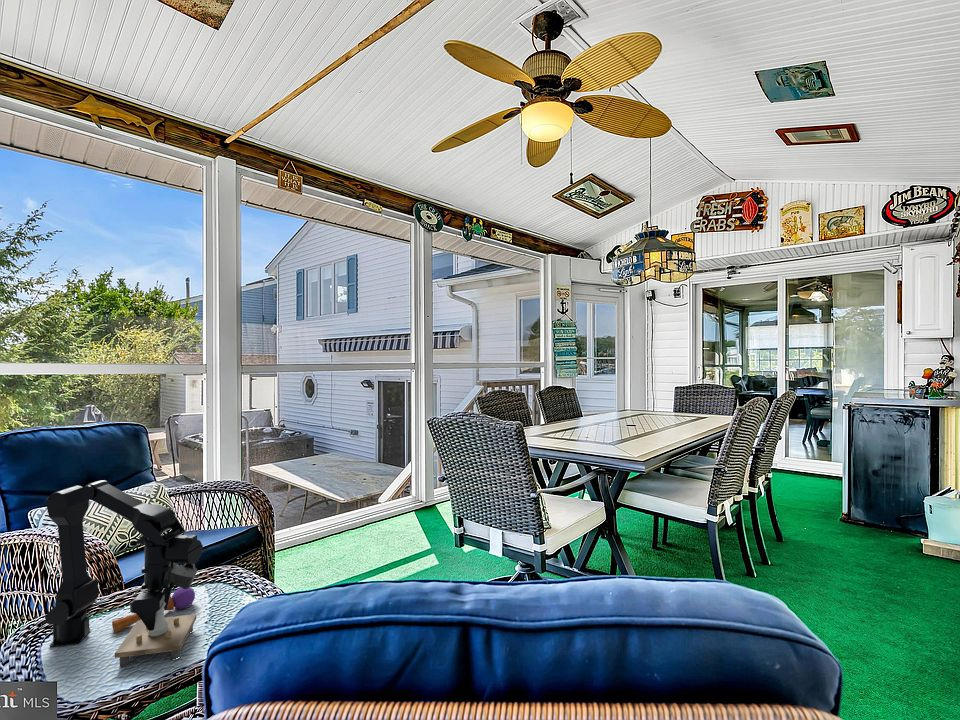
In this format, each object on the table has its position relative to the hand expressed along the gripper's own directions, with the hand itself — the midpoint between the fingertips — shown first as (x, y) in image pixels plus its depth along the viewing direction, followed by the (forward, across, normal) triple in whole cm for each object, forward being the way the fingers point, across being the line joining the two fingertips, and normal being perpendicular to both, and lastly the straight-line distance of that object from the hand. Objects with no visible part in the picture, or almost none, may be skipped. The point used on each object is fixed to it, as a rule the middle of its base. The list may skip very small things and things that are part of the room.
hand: (158, 619), depth 128 cm
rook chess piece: (+4, 0, 0) cm, 4 cm away
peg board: (+7, 0, 0) cm, 7 cm away
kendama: (+8, +16, +5) cm, 18 cm away
